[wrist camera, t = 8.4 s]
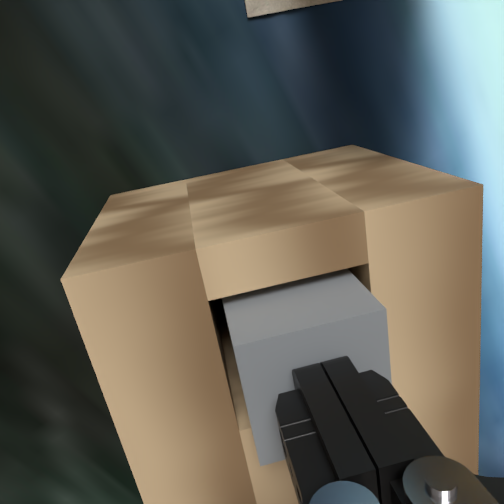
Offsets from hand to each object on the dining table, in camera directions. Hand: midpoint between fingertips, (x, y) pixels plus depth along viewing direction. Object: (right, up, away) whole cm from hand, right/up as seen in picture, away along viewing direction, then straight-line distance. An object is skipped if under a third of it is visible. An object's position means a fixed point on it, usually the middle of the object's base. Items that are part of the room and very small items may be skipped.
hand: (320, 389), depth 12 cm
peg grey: (-1, +3, +7) cm, 8 cm away
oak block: (-1, -1, +13) cm, 13 cm away
